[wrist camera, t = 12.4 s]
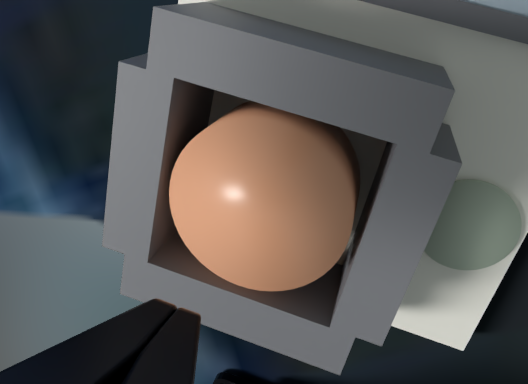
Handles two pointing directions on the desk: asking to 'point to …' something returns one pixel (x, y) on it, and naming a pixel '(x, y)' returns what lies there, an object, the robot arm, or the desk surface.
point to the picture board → (367, 151)
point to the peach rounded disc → (266, 197)
